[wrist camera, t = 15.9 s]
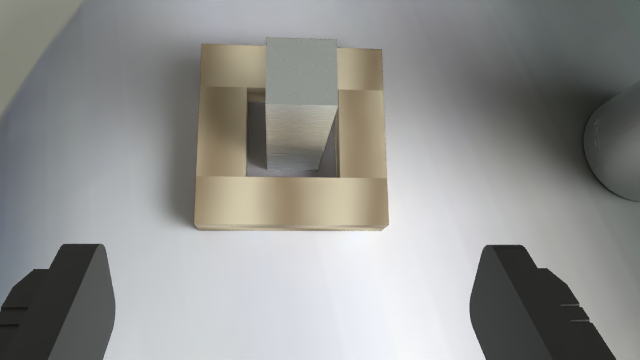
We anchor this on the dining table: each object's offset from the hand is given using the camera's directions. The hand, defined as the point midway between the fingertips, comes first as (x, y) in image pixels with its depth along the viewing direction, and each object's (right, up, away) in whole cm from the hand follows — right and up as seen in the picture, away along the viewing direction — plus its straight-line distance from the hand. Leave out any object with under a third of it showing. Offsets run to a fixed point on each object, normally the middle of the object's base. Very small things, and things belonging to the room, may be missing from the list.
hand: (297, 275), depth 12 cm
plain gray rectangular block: (-2, +5, +33) cm, 33 cm away
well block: (-2, +5, +33) cm, 33 cm away
